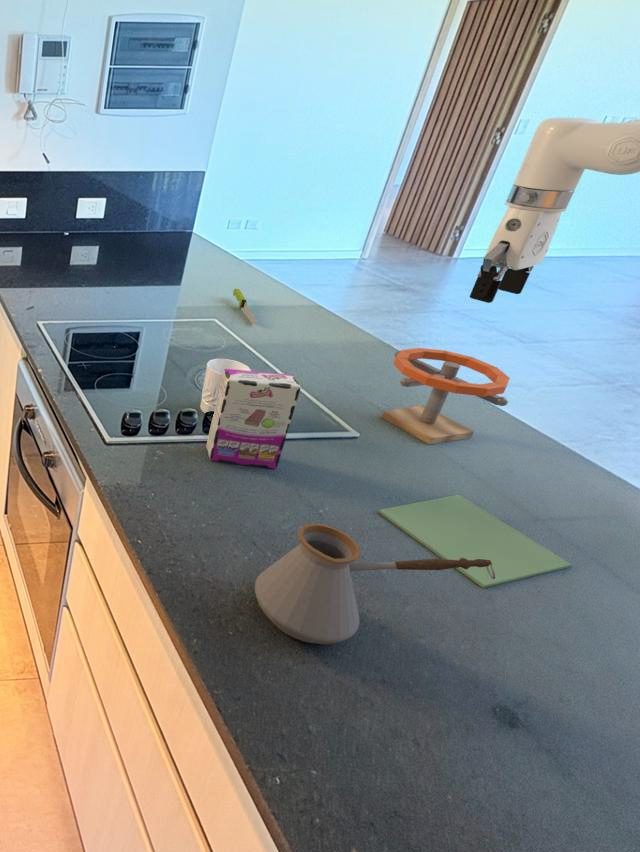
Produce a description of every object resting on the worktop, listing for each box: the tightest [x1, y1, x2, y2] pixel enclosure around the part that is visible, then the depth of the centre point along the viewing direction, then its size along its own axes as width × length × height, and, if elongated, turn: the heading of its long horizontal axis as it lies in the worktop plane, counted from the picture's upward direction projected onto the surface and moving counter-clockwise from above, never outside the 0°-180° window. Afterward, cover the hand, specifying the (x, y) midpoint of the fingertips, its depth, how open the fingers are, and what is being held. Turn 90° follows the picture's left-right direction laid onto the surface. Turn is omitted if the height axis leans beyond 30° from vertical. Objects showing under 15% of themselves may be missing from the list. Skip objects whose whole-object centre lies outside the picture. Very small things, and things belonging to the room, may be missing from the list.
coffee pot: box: [254, 523, 495, 645], centre depth 74 cm, size 21×12×15 cm, turn 69°
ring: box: [392, 347, 511, 397], centre depth 114 cm, size 16×16×2 cm
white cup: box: [199, 358, 252, 414], centre depth 123 cm, size 8×8×10 cm
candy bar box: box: [205, 369, 302, 469], centre depth 107 cm, size 11×5×16 cm, turn 76°
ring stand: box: [381, 350, 509, 446], centre depth 116 cm, size 15×21×14 cm
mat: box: [377, 494, 573, 589], centre depth 92 cm, size 16×16×1 cm
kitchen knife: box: [232, 288, 259, 325], centre depth 173 cm, size 22×1×3 cm, turn 170°
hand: (494, 295), depth 109 cm, fingers open, 9 cm apart
